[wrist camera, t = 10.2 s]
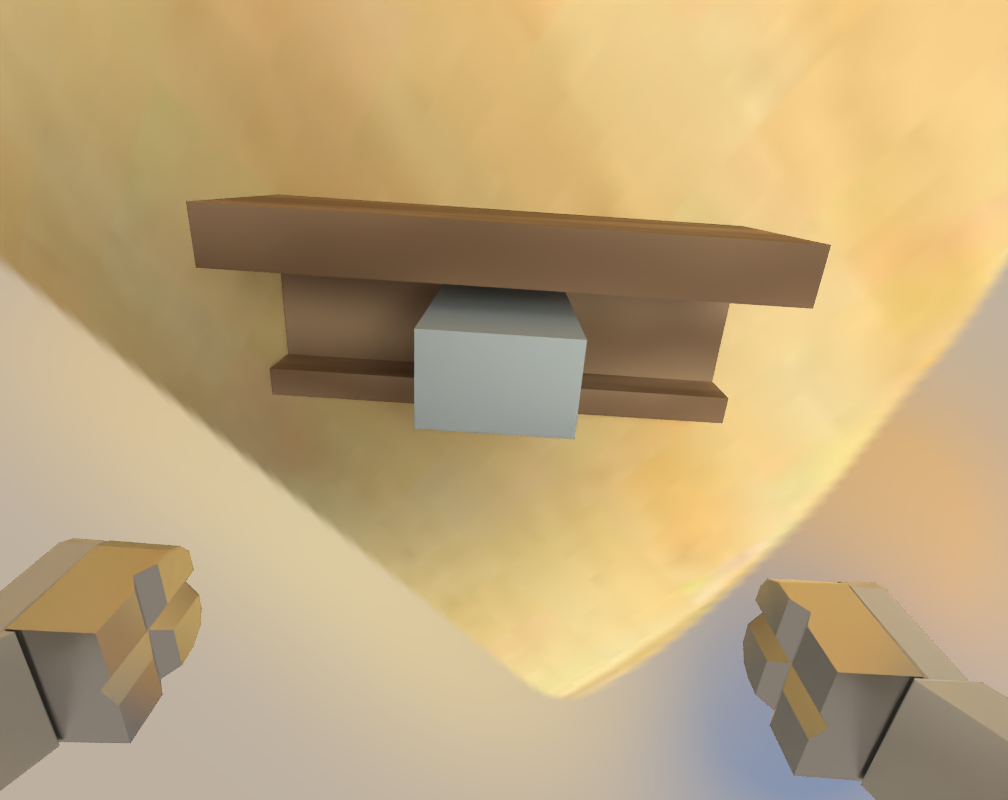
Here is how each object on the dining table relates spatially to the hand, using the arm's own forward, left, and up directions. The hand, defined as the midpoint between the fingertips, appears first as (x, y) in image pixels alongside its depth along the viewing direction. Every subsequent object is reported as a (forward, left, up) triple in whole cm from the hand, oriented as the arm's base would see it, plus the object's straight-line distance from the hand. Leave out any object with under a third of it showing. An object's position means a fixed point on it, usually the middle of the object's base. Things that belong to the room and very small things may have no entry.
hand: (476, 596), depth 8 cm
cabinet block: (0, 0, -18) cm, 18 cm away
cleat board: (0, 0, -19) cm, 18 cm away
